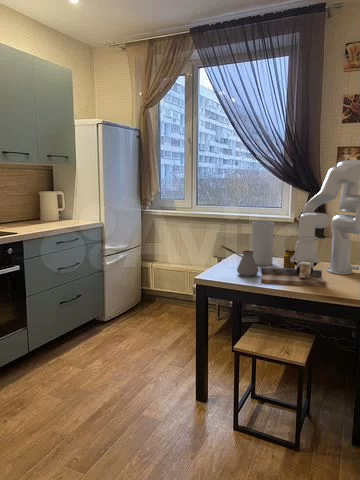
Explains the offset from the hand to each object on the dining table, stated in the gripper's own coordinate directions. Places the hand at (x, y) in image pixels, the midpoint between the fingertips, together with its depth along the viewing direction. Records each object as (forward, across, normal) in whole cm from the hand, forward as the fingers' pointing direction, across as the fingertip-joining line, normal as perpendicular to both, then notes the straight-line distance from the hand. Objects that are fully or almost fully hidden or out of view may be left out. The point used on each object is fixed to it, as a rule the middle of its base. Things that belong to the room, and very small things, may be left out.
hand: (304, 274), depth 185 cm
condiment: (+4, +5, -19) cm, 20 cm away
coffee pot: (+4, +33, -8) cm, 34 cm away
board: (+4, +6, +1) cm, 7 cm away
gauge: (+1, 0, +2) cm, 2 cm away
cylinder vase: (+4, +21, -33) cm, 40 cm away
